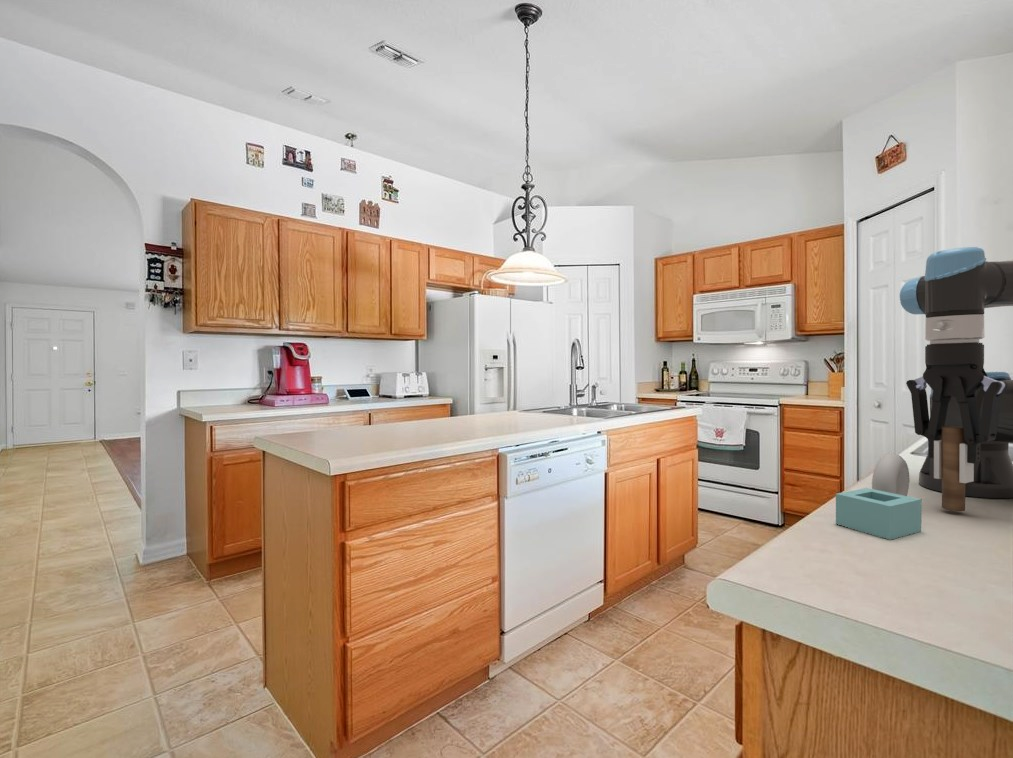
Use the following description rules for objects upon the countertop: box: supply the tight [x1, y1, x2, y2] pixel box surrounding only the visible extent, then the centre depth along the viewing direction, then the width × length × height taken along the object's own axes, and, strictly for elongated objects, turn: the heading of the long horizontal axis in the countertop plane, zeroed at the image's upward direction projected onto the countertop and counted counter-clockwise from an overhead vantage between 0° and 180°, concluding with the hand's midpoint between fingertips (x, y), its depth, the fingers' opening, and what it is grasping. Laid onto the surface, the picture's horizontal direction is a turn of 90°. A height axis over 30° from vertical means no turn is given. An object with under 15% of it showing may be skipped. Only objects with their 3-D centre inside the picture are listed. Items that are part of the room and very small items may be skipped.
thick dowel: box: [941, 426, 966, 512], centre depth 87 cm, size 3×3×14 cm
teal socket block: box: [835, 487, 923, 541], centre depth 81 cm, size 8×8×5 cm
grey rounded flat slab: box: [871, 453, 910, 496], centre depth 90 cm, size 10×3×10 cm, turn 126°
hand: (953, 479), depth 87 cm, fingers closed on thick dowel, 3 cm apart
